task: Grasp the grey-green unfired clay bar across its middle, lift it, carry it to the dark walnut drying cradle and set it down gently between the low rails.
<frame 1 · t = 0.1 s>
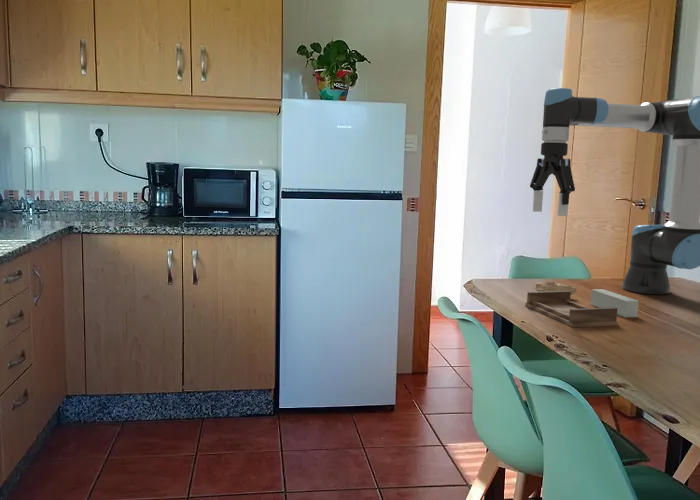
hand: (549, 213, 185), 28 cm above the table, fingers open, 13 cm apart
cradle rack: (569, 315, 176), on the table
pottery oil lamp: (554, 298, 199), on the table
greenware bar: (612, 311, 184), on the table
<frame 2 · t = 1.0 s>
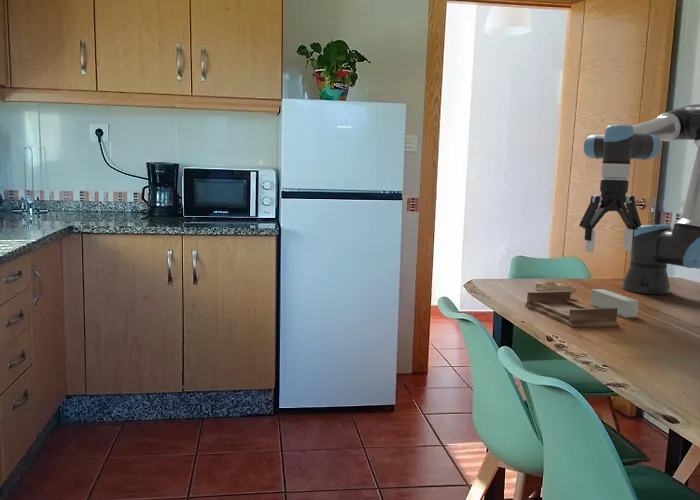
hand: (608, 251, 182), 18 cm above the table, fingers open, 13 cm apart
nothing on the table moved.
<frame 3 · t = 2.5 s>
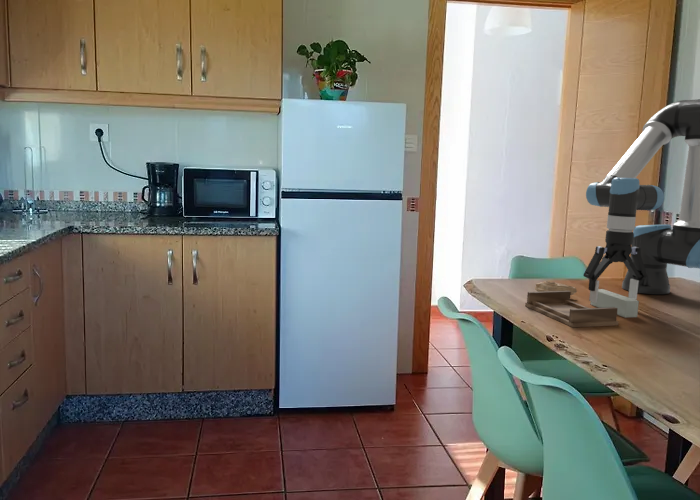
hand: (612, 301, 183), 3 cm above the table, fingers open, 13 cm apart
nothing on the table moved.
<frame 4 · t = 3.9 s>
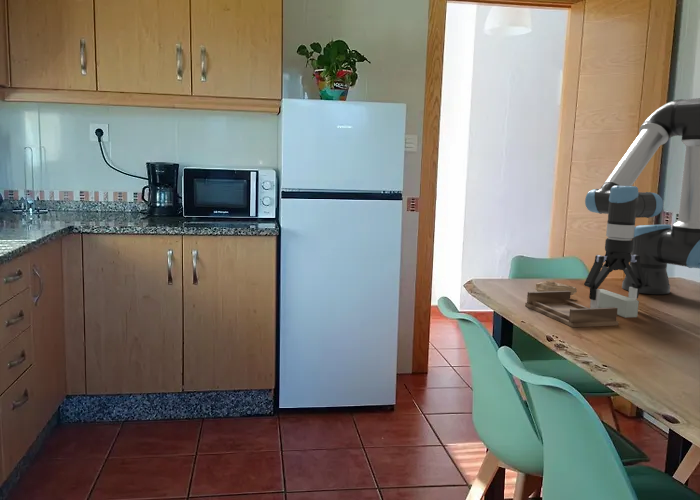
hand: (612, 309, 184), 0 cm above the table, fingers open, 12 cm apart
nothing on the table moved.
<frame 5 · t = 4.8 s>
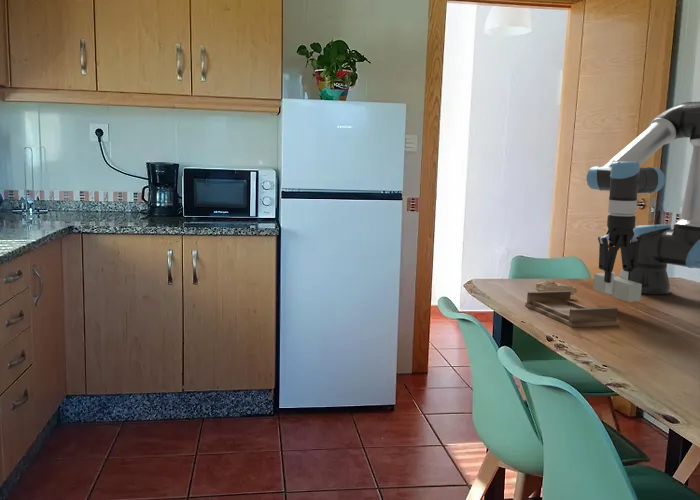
hand: (615, 292, 183), 5 cm above the table, fingers closed on greenware bar, 4 cm apart
greenware bar: (615, 294, 183), point 5 cm above the table, touching gripper
everything else where it was.
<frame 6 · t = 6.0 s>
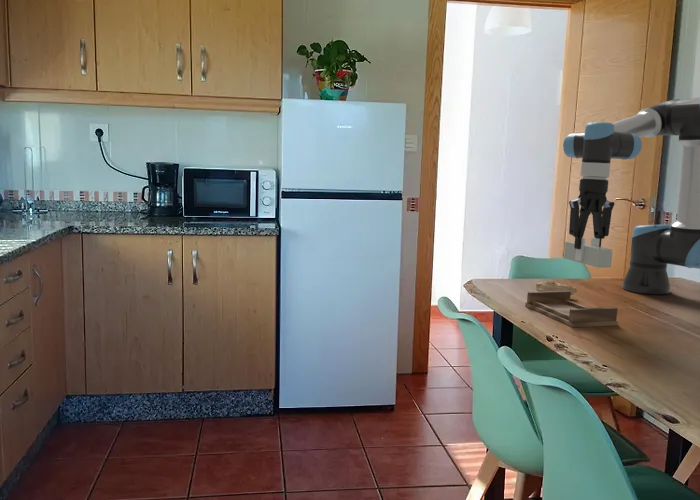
hand: (586, 260, 176), 16 cm above the table, fingers closed on greenware bar, 4 cm apart
greenware bar: (586, 262, 176), point 15 cm above the table, touching gripper
everything else where it was.
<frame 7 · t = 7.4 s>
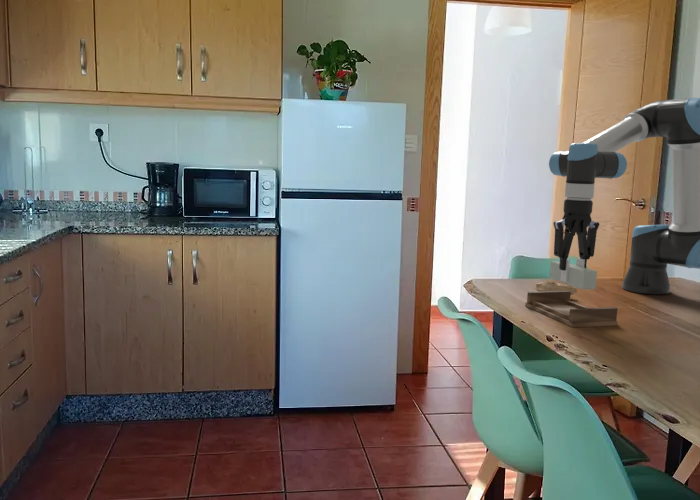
hand: (571, 281, 175), 10 cm above the table, fingers closed on greenware bar, 4 cm apart
greenware bar: (571, 283, 175), point 9 cm above the table, touching gripper
everything else where it was.
when the fingers open (2 cm above the table, at t = 9.4 s): greenware bar stays where it is, resting on cradle rack.
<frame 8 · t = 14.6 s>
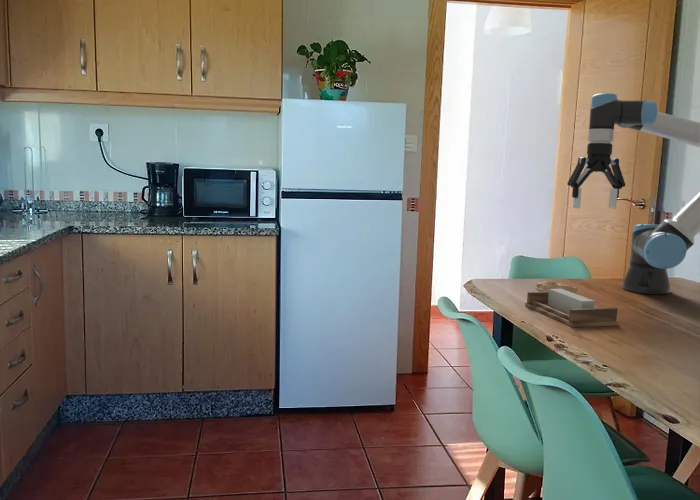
hand: (594, 208, 202), 29 cm above the table, fingers open, 13 cm apart
greenware bar: (569, 311, 176), point 1 cm above the table, touching cradle rack
everything else where it was.
at the end: greenware bar inside the target area on the cradle rack (0.1 cm from its centre), point 1.0 cm above the cradle rack's base; greenware bar tilted 0°; the gripper is holding nothing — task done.
